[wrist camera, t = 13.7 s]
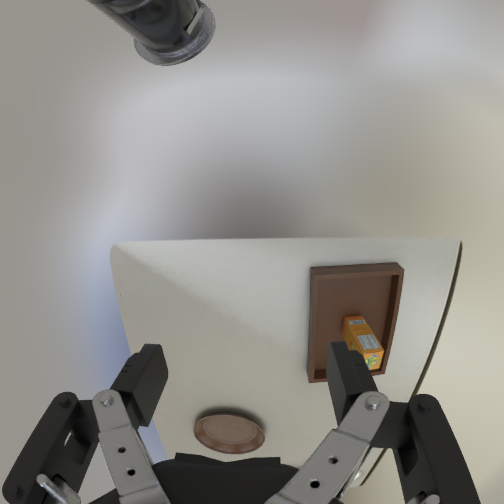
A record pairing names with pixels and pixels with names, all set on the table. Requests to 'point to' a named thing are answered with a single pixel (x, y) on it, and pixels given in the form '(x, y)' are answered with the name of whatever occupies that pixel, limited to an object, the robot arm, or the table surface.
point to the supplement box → (362, 340)
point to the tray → (351, 308)
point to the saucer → (229, 433)
